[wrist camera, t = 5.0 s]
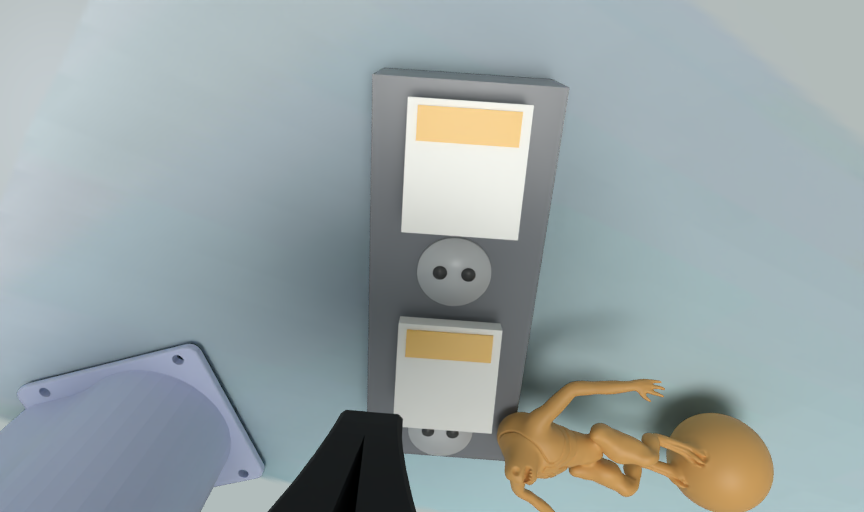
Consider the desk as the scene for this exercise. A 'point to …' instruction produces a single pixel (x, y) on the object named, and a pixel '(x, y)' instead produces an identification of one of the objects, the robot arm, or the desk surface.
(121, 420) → the robot arm
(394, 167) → the power strip
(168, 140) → the desk surface
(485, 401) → the far rocker
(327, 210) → the desk surface
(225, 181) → the desk surface
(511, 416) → the figurine
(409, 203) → the near rocker
